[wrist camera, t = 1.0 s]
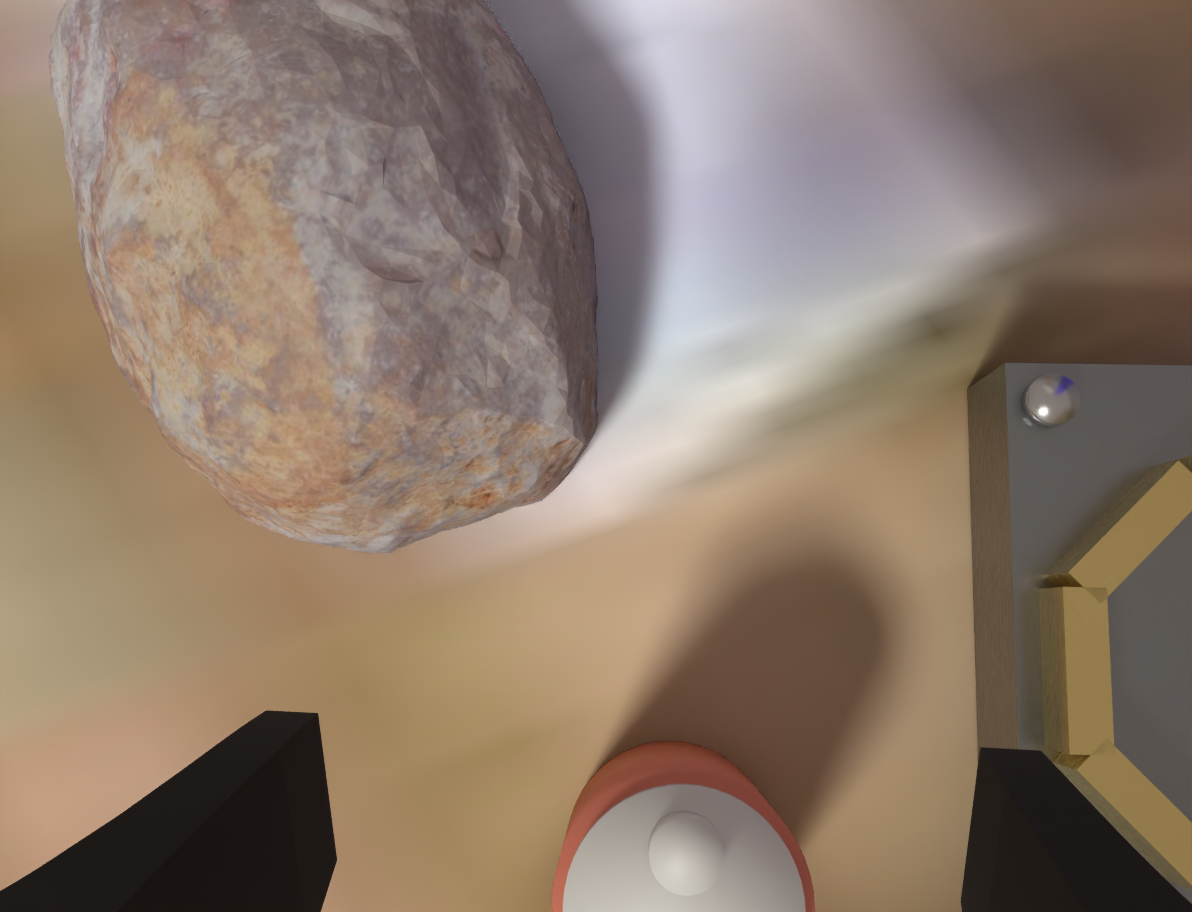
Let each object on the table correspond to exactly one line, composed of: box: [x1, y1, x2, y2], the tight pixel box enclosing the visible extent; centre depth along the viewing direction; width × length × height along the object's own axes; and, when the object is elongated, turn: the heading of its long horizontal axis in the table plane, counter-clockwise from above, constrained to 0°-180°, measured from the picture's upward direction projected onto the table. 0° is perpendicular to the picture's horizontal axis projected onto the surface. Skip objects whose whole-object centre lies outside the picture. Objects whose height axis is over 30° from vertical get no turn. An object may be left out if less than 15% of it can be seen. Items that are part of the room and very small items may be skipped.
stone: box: [49, 0, 598, 553], centre depth 25 cm, size 17×10×10 cm
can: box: [552, 741, 815, 912], centre depth 21 cm, size 4×4×6 cm
